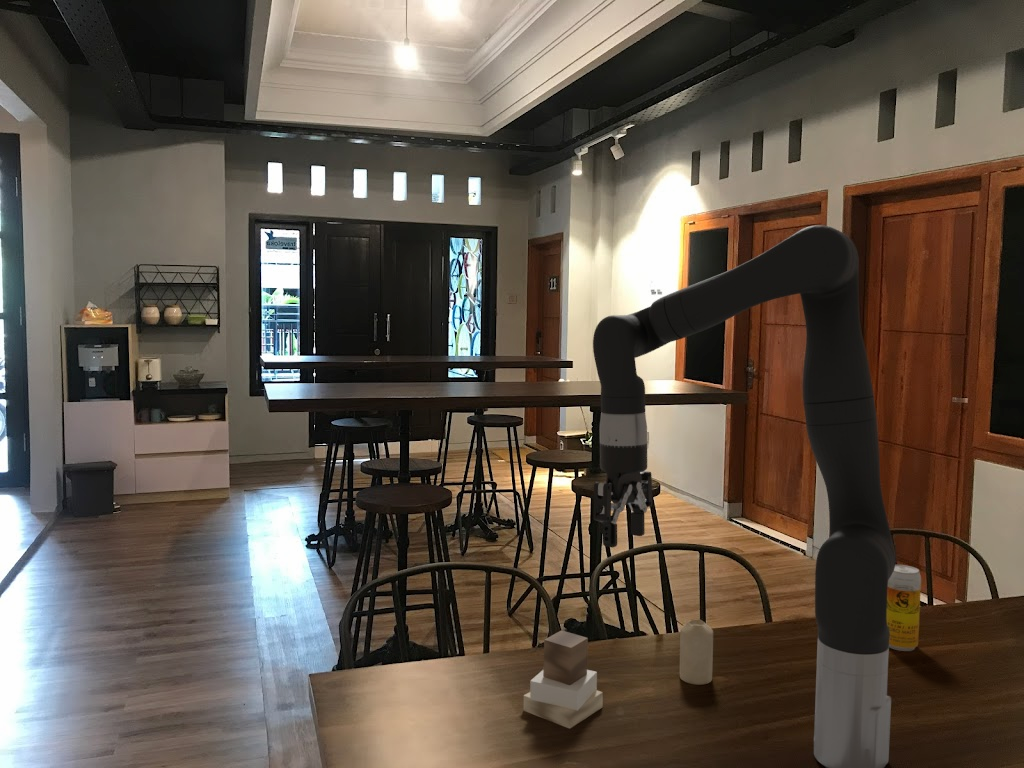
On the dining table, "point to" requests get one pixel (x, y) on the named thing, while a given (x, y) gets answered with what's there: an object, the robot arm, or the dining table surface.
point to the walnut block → (565, 657)
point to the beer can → (903, 607)
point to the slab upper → (563, 690)
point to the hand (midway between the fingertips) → (624, 540)
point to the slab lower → (564, 710)
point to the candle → (696, 652)
